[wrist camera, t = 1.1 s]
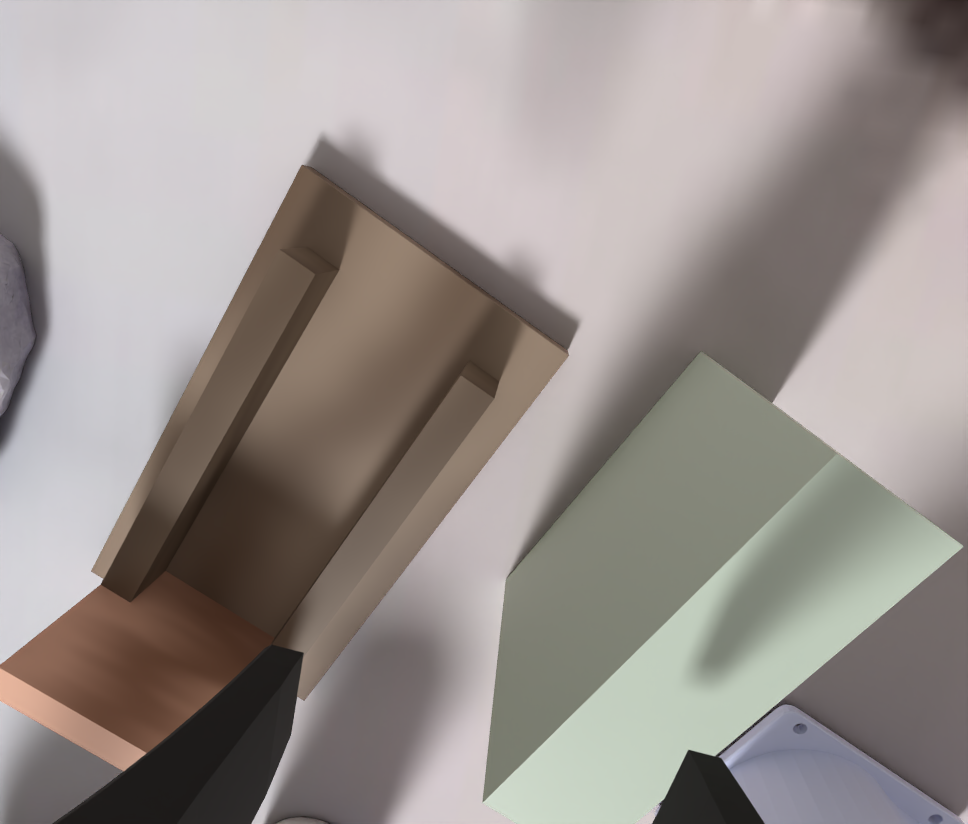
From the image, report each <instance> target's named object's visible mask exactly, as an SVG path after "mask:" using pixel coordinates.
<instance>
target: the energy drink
mask: <svg viewBox="0 0 968 824" xmlns="http://www.w3.org/2000/svg"><path fill="white" fill-rule="evenodd" d="M276 824H329V823H327V822H324V821H321V820H318V819H313V818H307V817H295V818H288V819H285V820H282V821H280V822H278V823H276Z"/></svg>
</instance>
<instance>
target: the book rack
mask: <svg viewBox="0 0 968 824" xmlns="http://www.w3.org/2000/svg"><path fill="white" fill-rule="evenodd" d="M568 356H569V354H568V350H566V349H565V348H563V347H562V346H561V345H559V344H558V343H556V342H555V341H554V340H552V339H551V338H549V337H548V336H547V335H545V334H544V333H542V332H541V331H540V330H538V329H537V328H535V327H534V326H533V325H531V324H530V323H528V322H527V321H526V320H524V319H523V318H521V317H520V316H519V315H517V314H516V313H514V312H513V311H512V310H510V309H509V308H507V307H506V306H505V305H503V304H502V303H501V302H499V301H498V300H496V299H495V298H494V297H492V296H491V295H489V294H488V293H487V292H485V291H484V290H482V289H481V288H480V287H478V286H477V285H475V284H474V283H473V282H471V281H470V280H468V279H467V278H466V277H464V276H463V275H461V274H460V273H459V272H457V271H456V270H454V269H453V268H452V267H450V266H449V265H447V264H446V263H445V262H443V261H442V260H440V259H439V258H438V257H436V256H435V255H433V254H432V253H431V252H429V251H428V250H426V249H425V248H424V247H422V246H421V245H419V244H418V243H417V242H415V241H414V240H413V239H411V238H410V237H408V236H407V235H406V234H404V233H403V232H401V231H400V230H399V229H397V228H396V227H394V226H393V225H392V224H390V223H389V222H387V221H386V220H385V219H383V218H382V217H380V216H379V215H378V214H376V213H375V212H373V211H372V210H371V209H369V208H368V207H366V206H365V205H364V204H362V203H361V202H359V201H358V200H357V199H355V198H354V197H352V196H351V195H350V194H348V193H347V192H345V191H344V190H343V189H341V188H340V187H338V186H337V185H336V184H334V183H333V182H331V181H330V180H329V179H327V178H326V177H324V176H323V175H322V174H320V173H319V172H318V171H316V170H315V169H313V168H311V167H308V166H304V165H302V166H301V168H300V170H299V171H298V173H297V175H296V177H295V179H294V181H293V183H292V185H291V187H290V189H289V191H288V193H287V195H286V197H285V198H284V200H283V202H282V204H281V206H280V208H279V210H278V212H277V214H276V216H275V218H274V220H273V222H272V223H271V225H270V227H269V229H268V231H267V233H266V235H265V237H264V239H263V241H262V243H261V245H260V247H259V249H258V250H257V252H256V254H255V256H254V258H253V260H252V262H251V264H250V266H249V268H248V270H247V272H246V274H245V276H244V277H243V279H242V281H241V283H240V285H239V287H238V289H237V291H236V293H235V295H234V297H233V299H232V301H231V303H230V304H229V306H228V308H227V310H226V312H225V314H224V316H223V318H222V320H221V322H220V324H219V326H218V328H217V329H216V331H215V333H214V335H213V337H212V339H211V341H210V343H209V345H208V347H207V349H206V351H205V353H204V355H203V356H202V358H201V360H200V362H199V364H198V366H197V368H196V370H195V372H194V374H193V376H192V378H191V380H190V382H189V383H188V385H187V387H186V389H185V391H184V393H183V395H182V397H181V399H180V401H179V403H178V405H177V407H176V409H175V410H174V412H173V414H172V416H171V418H170V420H169V422H168V424H167V426H166V428H165V430H164V432H163V434H162V435H161V437H160V439H159V441H158V443H157V445H156V447H155V449H154V451H153V453H152V455H151V457H150V459H149V461H148V462H147V464H146V466H145V468H144V470H143V472H142V474H141V476H140V478H139V480H138V482H137V484H136V486H135V488H134V489H133V491H132V493H131V495H130V497H129V499H128V501H127V503H126V505H125V507H124V509H123V511H122V513H121V514H120V516H119V518H118V520H117V522H116V524H115V526H114V528H113V530H112V532H111V534H110V536H109V538H108V540H107V541H106V543H105V545H104V547H103V549H102V551H101V553H100V555H99V557H98V559H97V561H96V563H95V565H94V567H93V568H92V570H91V572H93V573H95V574H96V575H98V576H100V577H101V578H103V581H102V583H101V585H100V586H98V587H97V588H96V589H95V590H93V591H92V592H91V593H90V594H88V595H87V596H86V597H85V598H83V599H82V600H81V601H80V602H78V603H77V604H76V605H75V606H73V607H72V608H71V609H70V610H68V611H67V612H66V613H65V614H63V615H62V616H61V617H60V618H58V619H57V620H56V621H55V622H53V623H52V624H51V625H50V626H48V627H47V628H46V629H45V630H43V631H42V632H41V633H40V634H38V635H37V636H36V637H35V638H33V639H32V640H31V641H30V642H28V643H27V644H26V645H25V646H23V647H22V648H21V649H20V650H18V651H17V652H16V653H15V654H13V655H12V656H11V657H10V658H8V659H7V660H6V661H5V662H3V663H2V664H1V665H0V701H2V702H3V703H5V704H7V705H9V706H10V707H12V708H14V709H15V710H17V711H19V712H21V713H22V714H24V715H26V716H28V717H29V718H31V719H33V720H35V721H36V722H38V723H40V724H42V725H43V726H45V727H47V728H49V729H50V730H52V731H54V732H56V733H57V734H59V735H61V736H63V737H64V738H66V739H68V740H70V741H71V742H73V743H75V744H77V745H78V746H80V747H82V748H84V749H85V750H87V751H89V752H91V753H92V754H94V755H96V756H98V757H99V758H101V759H103V760H104V761H106V762H108V763H110V764H111V765H113V766H115V767H117V768H118V769H120V770H122V771H125V770H126V769H127V768H129V767H130V766H131V765H132V764H134V763H135V762H136V761H137V760H139V759H140V758H141V757H143V756H144V755H145V754H146V753H148V752H149V751H150V750H151V749H153V748H154V747H155V746H157V745H158V744H159V743H160V742H161V741H163V740H164V739H165V738H166V737H168V736H169V735H170V734H171V733H172V732H173V731H175V730H176V729H177V728H178V727H179V726H180V725H182V724H183V723H184V722H185V721H186V720H187V719H189V718H190V717H191V716H192V715H193V714H194V713H196V712H197V711H198V710H199V709H200V708H201V707H203V706H204V705H205V704H206V703H207V702H208V701H209V700H211V699H212V698H213V697H214V696H215V695H216V694H217V693H218V692H219V691H220V690H222V689H223V688H224V687H225V686H226V685H227V684H228V683H229V682H230V681H231V680H232V679H234V678H235V677H236V676H237V675H238V674H239V673H240V672H241V671H242V670H243V669H244V668H245V667H246V666H247V665H248V664H249V663H250V662H251V661H252V660H253V659H254V658H255V657H256V656H257V655H258V654H259V653H260V652H261V651H262V650H263V649H264V648H266V647H268V646H270V645H276V646H280V647H284V648H287V649H291V650H295V651H299V652H303V653H304V655H303V662H302V668H301V674H300V681H299V687H298V693H297V697H299V698H300V699H302V700H305V699H306V698H307V696H308V695H309V694H310V693H311V691H312V690H313V689H314V687H315V686H316V685H317V683H318V682H319V681H320V680H321V678H322V677H323V676H324V674H325V673H326V672H327V670H328V669H329V668H330V666H331V665H332V664H333V663H334V661H335V660H336V659H337V657H338V656H339V655H340V653H341V652H342V651H343V650H344V648H345V647H346V646H347V644H348V643H349V642H350V640H351V639H352V638H353V636H354V635H355V634H356V633H357V631H358V630H359V629H360V627H361V626H362V625H363V623H364V622H365V621H366V620H367V618H368V617H369V616H370V614H371V613H372V612H373V610H374V609H375V608H376V606H377V605H378V604H379V603H380V601H381V600H382V599H383V597H384V596H385V595H386V593H387V592H388V591H389V590H390V588H391V587H392V586H393V584H394V583H395V582H396V580H397V579H398V578H399V576H400V575H401V574H402V573H403V571H404V570H405V569H406V567H407V566H408V565H409V563H410V562H411V561H412V559H413V558H414V557H415V556H416V554H417V553H418V552H419V550H420V549H421V548H422V546H423V545H424V544H425V543H426V541H427V540H428V539H429V537H430V536H431V535H432V533H433V532H434V531H435V529H436V528H437V527H438V526H439V524H440V523H441V522H442V520H443V519H444V518H445V516H446V515H447V514H448V513H449V511H450V510H451V509H452V507H453V506H454V505H455V503H456V502H457V501H458V499H459V498H460V497H461V496H462V494H463V493H464V492H465V490H466V489H467V488H468V486H469V485H470V484H471V483H472V481H473V480H474V479H475V477H476V476H477V475H478V473H479V472H480V471H481V469H482V468H483V467H484V466H485V464H486V463H487V462H488V460H489V459H490V458H491V456H492V455H493V454H494V453H495V451H496V450H497V449H498V447H499V446H500V445H501V443H502V442H503V441H504V439H505V438H506V437H507V436H508V434H509V433H510V432H511V430H512V429H513V428H514V426H515V425H516V424H517V422H518V421H519V420H520V419H521V417H522V416H523V415H524V413H525V412H526V411H527V409H528V408H529V407H530V406H531V404H532V403H533V402H534V400H535V399H536V398H537V396H538V395H539V394H540V392H541V391H542V390H543V389H544V387H545V386H546V385H547V383H548V382H549V381H550V379H551V378H552V377H553V376H554V374H555V373H556V372H557V370H558V369H559V368H560V366H561V365H562V364H563V362H564V361H565V360H566V359H567V357H568Z"/></svg>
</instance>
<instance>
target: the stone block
mask: <svg viewBox="0 0 968 824" xmlns="http://www.w3.org/2000/svg"><path fill="white" fill-rule="evenodd" d="M35 338H36V332H35V329H34V326H33V323H32V316H31V309H30V302H29V295H28V291H27V287H26V281H25V272H24V269H23V266H22V263H21V260H20V256H19V254H18V252H17V250H16V248H15V246H14V244H13V243H12V242H11V241H9V240H8V239H6V238H5V237H4V236H3V235H1V234H0V416H1V415H2V414H3V413H4V412H5V411H6V410H7V408H8V406H9V403H10V400H11V396H12V393H13V390H14V388H15V386H16V384H17V383H18V381H19V379H20V376H21V373H22V370H23V366H24V363H25V360H26V358H27V356H28V354H29V352H30V351H31V349H32V347H33V346H34V341H35Z"/></svg>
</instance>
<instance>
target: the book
mask: <svg viewBox="0 0 968 824" xmlns="http://www.w3.org/2000/svg"><path fill="white" fill-rule="evenodd" d="M963 547H964V546H963V545H961V544H960V543H959V542H957V541H956V540H955V539H953V538H952V537H951V536H949V535H948V534H947V533H945V532H944V531H943V530H941V529H940V528H939V527H937V526H936V525H935V524H933V523H932V522H931V521H929V520H928V519H926V518H925V517H924V516H922V515H921V514H920V513H918V512H917V511H916V510H914V509H913V508H912V507H910V506H909V505H908V504H906V503H905V502H904V501H902V500H901V499H900V498H898V497H897V496H896V495H894V494H893V493H892V492H890V491H889V490H888V489H886V488H885V487H884V486H882V485H881V484H880V483H878V482H877V481H876V480H874V479H873V478H872V477H870V476H869V475H868V474H866V473H865V472H864V471H862V470H861V469H860V468H858V467H857V466H856V465H854V464H853V463H852V462H850V461H849V460H848V459H846V458H845V457H844V456H842V455H841V454H840V453H838V452H837V451H836V450H834V449H833V448H832V447H830V446H829V445H827V444H826V443H825V442H823V441H822V440H821V439H819V438H818V437H817V436H815V435H814V434H813V433H811V432H810V431H809V430H807V429H806V428H805V427H803V426H802V425H801V424H799V423H798V422H797V421H795V420H794V419H793V418H791V417H790V416H789V415H787V414H786V413H785V412H783V411H782V410H781V409H779V408H778V407H777V406H775V405H774V404H773V403H771V402H770V401H769V400H767V399H766V398H765V397H763V396H762V395H760V394H759V393H758V392H756V391H755V390H754V389H752V388H751V387H750V386H748V385H747V384H745V383H744V382H743V381H741V380H740V379H739V378H737V377H736V376H735V375H733V374H732V373H731V372H729V371H728V370H726V369H725V368H724V367H722V366H721V365H720V364H718V363H717V362H716V361H714V360H713V359H712V358H710V357H709V356H707V355H706V354H705V353H703V352H702V351H701V352H700V353H699V354H698V355H697V356H696V357H695V359H694V360H693V361H692V362H691V363H690V364H689V366H688V367H687V368H686V369H685V370H684V371H683V373H682V374H681V375H680V376H679V377H678V378H677V380H676V381H675V382H674V383H673V384H672V386H671V387H670V388H669V389H668V390H667V391H666V393H665V394H664V395H663V396H662V397H661V398H660V400H659V401H658V402H657V403H656V404H655V405H654V407H653V408H652V409H651V410H650V411H649V412H648V414H647V415H646V416H645V417H644V418H643V420H642V421H641V422H640V423H639V424H638V425H637V427H636V428H635V429H634V430H633V431H632V432H631V434H630V435H629V436H628V437H627V438H626V439H625V441H624V442H623V443H622V444H621V445H620V446H619V448H618V449H617V450H616V451H615V452H614V453H613V455H612V456H611V457H610V458H609V459H608V461H607V462H606V463H605V464H604V465H603V466H602V468H601V469H600V470H599V471H598V472H597V473H596V475H595V476H594V477H593V478H592V479H591V480H590V482H589V483H588V484H587V485H586V486H585V487H584V489H583V490H582V491H581V492H580V493H579V495H578V496H577V497H576V498H575V499H574V500H573V502H572V503H571V504H570V505H569V506H568V507H567V509H566V510H565V511H564V512H563V513H562V514H561V516H560V517H559V518H558V519H557V520H556V521H555V523H554V524H553V525H552V526H551V527H550V529H549V530H548V531H547V532H546V533H545V534H544V536H543V537H542V538H541V539H540V540H539V541H538V543H537V544H536V545H535V546H534V547H533V548H532V550H531V551H530V552H529V553H528V554H527V555H526V557H525V558H524V559H523V560H522V561H521V562H520V564H519V565H518V566H517V567H516V568H515V570H514V571H513V572H512V573H511V574H510V575H509V577H508V578H507V579H506V584H505V594H504V603H503V613H502V622H501V632H500V641H499V651H498V660H497V670H496V679H495V689H494V698H493V708H492V717H491V727H490V736H489V746H488V755H487V765H486V774H485V784H484V793H483V804H485V805H486V806H488V807H490V808H491V809H493V810H495V811H496V812H498V813H500V814H501V815H503V816H505V817H506V818H508V819H509V820H511V821H513V822H514V823H516V824H635V823H636V822H638V821H639V820H640V819H641V818H642V817H643V816H645V815H646V814H647V813H648V812H649V811H651V810H652V809H653V808H654V807H655V806H657V805H658V804H659V803H660V802H661V801H662V800H664V799H665V797H666V795H667V792H668V790H669V788H670V786H671V784H672V782H673V780H674V778H675V776H676V774H677V772H678V770H679V768H680V766H681V764H682V762H683V760H684V757H685V755H686V753H687V751H688V750H692V751H696V752H700V753H704V754H708V755H712V756H716V755H717V754H718V753H719V752H721V751H722V750H723V749H724V748H725V747H727V746H728V745H729V744H730V743H731V742H732V741H734V740H735V739H736V738H737V737H738V736H740V735H741V734H742V733H743V732H744V731H746V730H747V729H748V728H749V727H750V726H751V725H753V724H754V723H755V722H756V721H757V720H759V719H760V718H761V717H762V716H763V715H764V714H766V713H767V712H768V711H769V710H770V709H772V708H773V707H774V706H775V705H776V704H778V703H779V702H780V701H781V700H782V699H783V698H785V697H786V696H787V695H788V694H789V693H791V692H792V691H793V690H794V689H795V688H797V687H798V686H799V685H800V684H801V683H802V682H804V681H805V680H806V679H807V678H808V677H810V676H811V675H812V674H813V673H814V672H816V671H817V670H818V669H819V668H820V667H821V666H823V665H824V664H825V663H826V662H827V661H829V660H830V659H831V658H832V657H833V656H834V655H836V654H837V653H838V652H839V651H840V650H842V649H843V648H844V647H845V646H846V645H848V644H849V643H850V642H851V641H852V640H853V639H855V638H856V637H857V636H858V635H859V634H861V633H862V632H863V631H864V630H865V629H867V628H868V627H869V626H870V625H871V624H872V623H874V622H875V621H876V620H877V619H878V618H880V617H881V616H882V615H883V614H884V613H886V612H887V611H888V610H889V609H890V608H891V607H893V606H894V605H895V604H896V603H897V602H899V601H900V600H901V599H902V598H903V597H905V596H906V595H907V594H908V593H909V592H910V591H912V590H913V589H914V588H915V587H916V586H918V585H919V584H920V583H921V582H922V581H923V580H925V579H926V578H927V577H928V576H929V575H931V574H932V573H933V572H934V571H935V570H937V569H938V568H939V567H940V566H941V565H942V564H944V563H945V562H946V561H947V560H948V559H950V558H951V557H952V556H953V555H954V554H956V553H957V552H958V551H959V550H960V549H961V548H963Z"/></svg>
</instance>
